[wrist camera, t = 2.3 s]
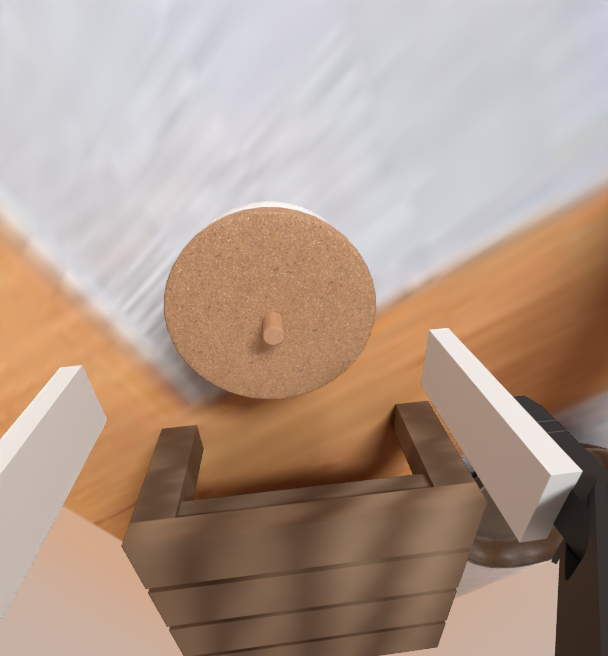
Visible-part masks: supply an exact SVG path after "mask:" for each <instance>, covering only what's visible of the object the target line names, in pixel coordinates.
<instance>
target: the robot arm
mask: <svg viewBox="0 0 608 656" xmlns="http://www.w3.org/2000/svg"><path fill="white" fill-rule="evenodd" d="M421 386H422V387H423V389H424V391H425V392H426V394H427V395H428V397H429V398H430V400H431V402H432V403H433V405H434V406H435V408H436V410H437V411H438V413H439V414H440V416H441V418H442V419H443V421H444V422H445V424H446V426H447V427H448V429H449V430H450V432H451V434H452V435H453V437H454V438H455V440H456V442H457V443H458V445H459V446H460V448H461V450H462V451H463V453H464V454H465V456H466V458H467V459H468V461H469V462H470V464H471V466H472V467H473V469H474V470H475V472H476V474H477V475H478V477H479V478H480V480H481V482H482V483H483V485H484V486H485V488H486V490H487V491H488V493H489V494H490V496H491V498H492V499H493V501H494V502H495V504H496V506H497V507H498V509H499V510H500V512H501V514H502V515H503V517H504V518H505V520H506V521H507V523H508V525H509V526H510V528H511V529H512V531H513V533H514V534H515V536H516V537H517V539H518V541H519V542H520V543H521V542H527V541H534V540H541V539H547V537H548V535H549V534H550V532H551V530H552V528H553V526H555V527H556V529H557V530H558V531H559V533H560V534H561V535H562V537H563V540H562V542H561V543H560V545H559V547H558V548H557V550H556V552H555V554H554V556H553V558H552V562H553V563H555V564H557V562H558V560H559V559H560V562H559V583H558V584H559V585H558V604H557V605H558V606H557V624H556V646H555V656H608V471H607V470H606V469H605V468H604V467H603V466H602V465H601V464H600V463H599V462H598V461H597V460H596V459H595V458H594V457H593V456H592V455H591V454H590V453H589V452H588V451H587V450H586V449H585V448H584V447H583V446H582V445H581V444H580V443H579V442H578V441H577V440H576V439H575V438H574V437H573V436H572V435H571V434H570V433H569V432H566V431H565V428H564V427H563V426H562V425H561V424H560V423H559V422H558V421H555V419H554V418H553V417H552V416H551V415H550V414H549V413H548V412H547V411H546V410H545V409H544V408H543V407H542V406H541V405H539V404H538V403H536V402H534V401H533V400H531V399H529V398H528V397H526V396H518V397H513V396H512V395H511V394H510V393H509V392H508V391H507V390H506V389H505V388H504V387H503V386H502V385H501V384H500V383H499V382H498V381H497V379H496V378H495V377H494V376H493V375H492V374H491V373H490V372H489V371H488V370H487V369H486V368H485V367H484V366H483V365H482V364H481V362H480V361H479V360H478V359H477V358H476V357H475V356H474V355H473V354H472V353H471V352H470V351H469V350H468V349H467V348H466V346H465V345H464V344H463V343H462V342H461V341H460V340H459V339H458V338H457V337H456V336H455V335H454V334H453V333H452V332H451V331H450V329H449V328H443V329H433V330H429V335H428V341H427V348H426V355H425V361H424V368H423V375H422V381H421ZM106 422H107V419H106V417H105V414H104V412H103V410H102V408H101V406H100V403H99V401H98V399H97V397H96V395H95V393H94V390H93V388H92V386H91V384H90V382H89V379H88V377H87V375H86V373H85V371H84V368H83V366H82V365H80V366H71V367H61V368H59V370H58V371H57V372H56V373H55V374H54V376H53V377H52V378H51V379H50V380H49V382H48V383H47V384H46V385H45V386H44V388H43V389H42V390H41V391H40V392H39V394H38V395H37V396H36V397H35V398H34V400H33V401H32V402H31V403H30V404H29V406H28V407H27V408H26V409H25V410H24V412H23V413H22V414H21V415H20V416H19V418H18V419H17V420H16V421H15V422H14V424H13V425H12V426H11V427H10V428H9V430H8V431H7V432H6V433H5V434H4V436H3V437H2V438H1V439H0V619H3V618H4V616H5V615H6V613H7V611H8V609H9V607H10V605H11V603H12V601H13V600H14V598H15V595H16V594H17V592H18V590H19V588H20V586H21V584H22V582H23V580H24V579H25V577H26V575H27V573H28V571H29V569H30V567H31V565H32V563H33V561H34V559H35V558H36V556H37V554H38V552H39V550H40V548H41V546H42V544H43V542H44V540H45V538H46V536H47V535H48V533H49V531H50V529H51V527H52V524H53V523H54V521H55V519H56V517H57V515H58V514H59V512H60V510H61V508H62V506H63V504H64V502H65V500H66V498H67V496H68V494H69V492H70V491H71V489H72V487H73V485H74V483H75V481H76V479H77V477H78V475H79V473H80V471H81V470H82V468H83V466H84V464H85V462H86V460H87V458H88V456H89V454H90V452H91V450H92V449H93V447H94V445H95V443H96V441H97V439H98V437H99V435H100V433H101V431H102V429H103V427H104V426H105V424H106Z"/></svg>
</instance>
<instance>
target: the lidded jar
mask: <svg viewBox="0 0 608 656" xmlns="http://www.w3.org/2000/svg"><path fill="white" fill-rule="evenodd" d="M375 313H376V294H375V289H374V284H373V280H372V277H371V275H370V272H369V270H368V267H367V265H366V263H365V262H364V260H363V259H362V257H361V255H360V254H359V252H358V251H357V249H356V248H355V247H354V246H353V245H352V244H351V242H350V241H349V240H348V239H347V238H346V237H345V236H344V235H343V234H342V233H340V232H339V231H338V230H337V229H336V228H335V227H334V226H332V225H331V224H330V223H329V222H327V221H326V220H325V219H324V218H322V217H320V216H318V215H317V214H315V213H313V212H311V211H309V210H307V209H305V208H302V207H299V206H296V205H294V204H289V203H283V202H269V201H263V202H256V203H249V204H246V205H243V206H240V207H237V208H234V209H232V210H230V211H228V212H226V213H224V214H222V215H220V216H219V217H217V218H216V219H214V220H213V221H212V222H211V223H209V224H208V225H207V226H205V227H204V229H203V230H202V231H201V232H199V233H198V234H197V235H195V237H194V238H193V239H192V240H191V241H190V242H189V243H188V244H187V245H186V247H185V248H184V249H183V250H182V252H181V254H180V255H179V257H178V258H177V260H176V262H175V263H174V265H173V267H172V269H171V272H170V274H169V277H168V280H167V283H166V289H165V294H164V315H165V320H166V326H167V329H168V332H169V334H170V337H171V340H172V342H173V344H174V345H175V347H176V349H177V351H178V352H179V354H180V355H181V357H182V358H183V359H184V360H185V361H186V363H187V364H188V365H189V366H190V367H191V368H192V369H193V370H194V371H196V372H197V373H198V374H199V375H200V376H201V377H203V378H204V379H206V380H207V381H209V382H210V383H212V384H214V385H216V386H218V387H220V388H221V389H223V390H225V391H228V392H232V393H235V394H238V395H241V396H246V397H251V398H260V399H282V398H288V397H294V396H298V395H302V394H305V393H309V392H311V391H314V390H316V389H318V388H320V387H322V386H324V385H326V384H328V383H329V382H331V381H333V380H334V379H336V378H337V377H338V376H339V375H341V374H342V373H343V372H344V371H346V370H347V369H348V368H349V367H350V365H351V364H352V363H353V362H354V361H355V360H356V359H357V357H358V356H359V355H360V353H361V352H362V350H363V349H364V347H365V345H366V343H367V341H368V339H369V337H370V334H371V331H372V328H373V325H374V320H375Z"/></svg>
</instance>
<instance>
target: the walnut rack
mask: <svg viewBox="0 0 608 656" xmlns="http://www.w3.org/2000/svg"><path fill="white" fill-rule="evenodd" d="M393 429H394V431H395V433H396V436H397V438H398V440H399V443H400V445H401V448H402V450H403V452H404V455H405V457H406V459H407V462H408V464H409V467H410V469H411V471H412V474H413V475H407V476H399V477H390V478H382V479H373V480H364V481H356V482H347V483H339V484H330V485H321V486H313V487H304V488H296V489H287V490H278V491H270V492H261V493H253V494H244V495H235V496H227V497H218V498H210V499H201V500H193V498H194V493H195V488H196V483H197V478H198V473H199V468H200V463H201V458H202V453H203V446H202V442H201V439H200V435H199V432H198V428H197V425H194V426H185V427H175V428H166V429H162V431H161V434H160V437H159V440H158V443H157V446H156V448H155V451H154V454H153V457H152V460H151V463H150V466H149V469H148V471H147V474H146V477H145V480H144V483H143V486H142V489H141V492H140V494H139V497H138V500H137V503H136V506H135V509H134V512H133V515H132V517H131V520H130V523H129V526H128V529H127V532H126V535H125V538H124V540H123V543H122V548H123V550H124V552H125V553H126V555H127V557H128V559H129V560H130V562H131V564H132V566H133V567H134V569H135V571H136V573H137V574H138V576H139V578H140V580H141V582H142V583H143V585H144V587H145V589H149V592H148V594H149V596H150V598H151V599H152V601H153V603H154V604H155V606H156V608H157V610H158V611H159V613H160V615H161V617H162V619H163V620H164V622H165V624H166V626H167V627H168V626H170V629H169V631H170V633H171V635H172V636H173V638H174V640H175V641H176V643H177V645H178V647H179V648H180V650H181V652H182V654H183V656H380V655H387V654H394V653H401V652H408V651H415V650H422V649H429V648H435V647H438V644H439V641H440V638H441V635H442V632H443V629H444V626H445V621H444V620H447V617H448V615H449V612H450V609H451V606H452V603H453V600H454V597H455V594H456V589H455V588H457V587H458V586H459V583H460V580H461V577H462V574H463V571H464V568H465V565H466V562H467V559H468V556H469V553H470V550H469V548H468V547H472V545H473V542H474V539H475V536H476V533H477V530H478V527H479V524H480V521H481V518H482V516H483V513H484V510H485V507H486V504H487V500H486V499H485V497H484V495H483V494H482V492H481V490H480V489H479V487H478V485H477V483H476V482H475V480H474V478H473V477H472V475H471V473H470V472H469V470H468V468H467V467H466V465H465V463H464V462H463V460H462V458H461V456H460V455H459V453H458V451H457V450H456V448H455V446H454V445H453V443H452V441H451V440H450V438H449V436H448V434H447V433H446V431H445V429H444V428H443V426H442V424H441V423H440V421H439V419H438V418H437V416H436V414H435V412H434V411H433V409H432V407H431V406H430V404H429V402H428V401H424V402H414V403H405V404H396V407H395V416H394V426H393Z"/></svg>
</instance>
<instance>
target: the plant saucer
mask: <svg viewBox="0 0 608 656" xmlns="http://www.w3.org/2000/svg"><path fill="white" fill-rule="evenodd" d="M580 444H581V445H582V446H583V447H584V448H585V449H586V450H587V451H588V452H589V453H590V454H591V455H592V456H593V457H594V458H595V459H596V460H597V461H598V462H599V463H600V464H601V465H602V466H603V467H604V468H605V469H606V470H607V471H608V449H606V448H602V447H599V446H594V445H589V444H582V443H580ZM474 480H475V482H476V483H477V485H478V487H479V489H480V490H481V492H482V494H483V495H484V497H485V499H486V500H487V504H486V507H485V510H484V513H483V516H482V518H481V521H480V524H479V527H478V530H477V533H476V536H475V539H474V542H473V545H472V547H468V548H469V550H470V553H469V556H468V559H467V561H469V562H470V563H473V564H476V565H479V566H483V567H489V568H516V567H523V566H528V565H533V564H537V563H541V562H544V561H548V560H551V559H552V558H553V556H554V554H555V552H556V550H557V548H558V547H559V545H560V543H561V542H562V540H563V537H562V535H561V534H560V533H559V531H558V530H557V529H556V527H555V526H553V528H552V530H551V532H550V534H549V535H548V537H547V539H541V540H534V541H527V542H521V543H520V542H519V541H518V539H517V537H516V536H515V534H514V533H513V531H512V529H511V528H510V526H509V525H508V523H507V521H506V520H505V518H504V517H503V515H502V514H501V512H500V510H499V509H498V507H497V506H496V504H495V502H494V501H493V499H492V498H491V496H490V494H489V493H488V491H487V490H486V488H485V486H484V485H483V483H482V482H481V480H480V478H479V477H478V475H477V476H476V477H475V478H474Z"/></svg>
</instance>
